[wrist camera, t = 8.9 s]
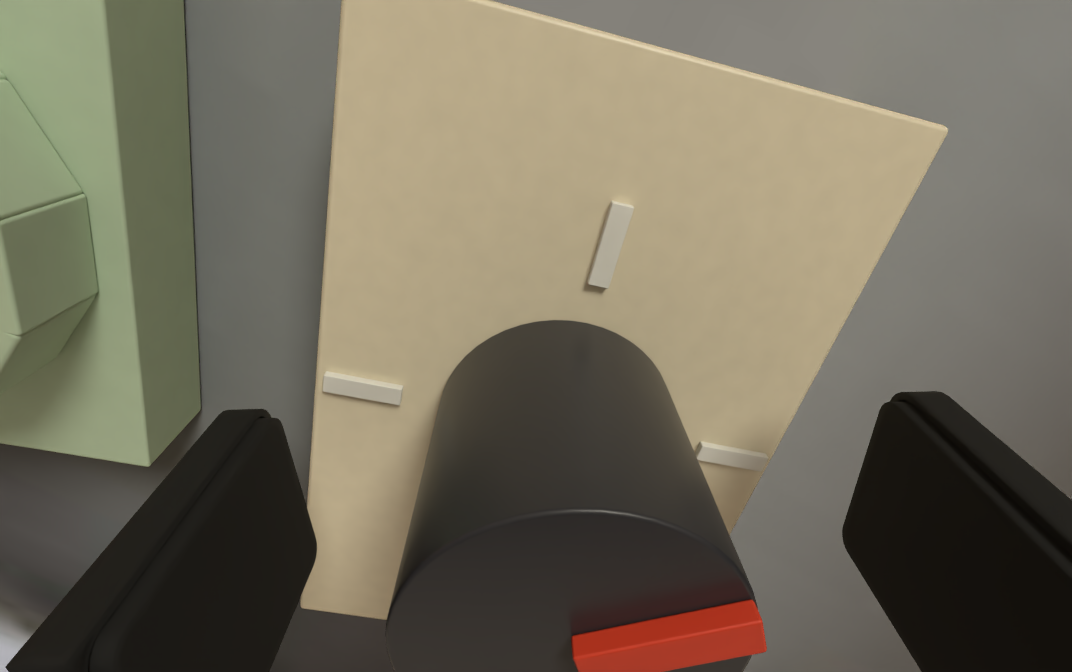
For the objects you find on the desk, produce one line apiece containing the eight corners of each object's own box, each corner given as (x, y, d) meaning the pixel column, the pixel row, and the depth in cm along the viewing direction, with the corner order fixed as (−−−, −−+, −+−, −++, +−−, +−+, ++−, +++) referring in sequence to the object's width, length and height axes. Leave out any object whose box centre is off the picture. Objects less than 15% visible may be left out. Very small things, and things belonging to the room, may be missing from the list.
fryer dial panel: (391, -16, 10) (337, -44, 7) (849, 109, 11) (961, 128, 8) (337, 514, 16) (295, 616, 13) (641, 562, 17) (665, 665, 14)
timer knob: (482, 528, 12) (458, 800, 8) (401, 355, 10) (308, 588, 6) (687, 481, 11) (785, 743, 7) (645, 289, 9) (747, 490, 5)
